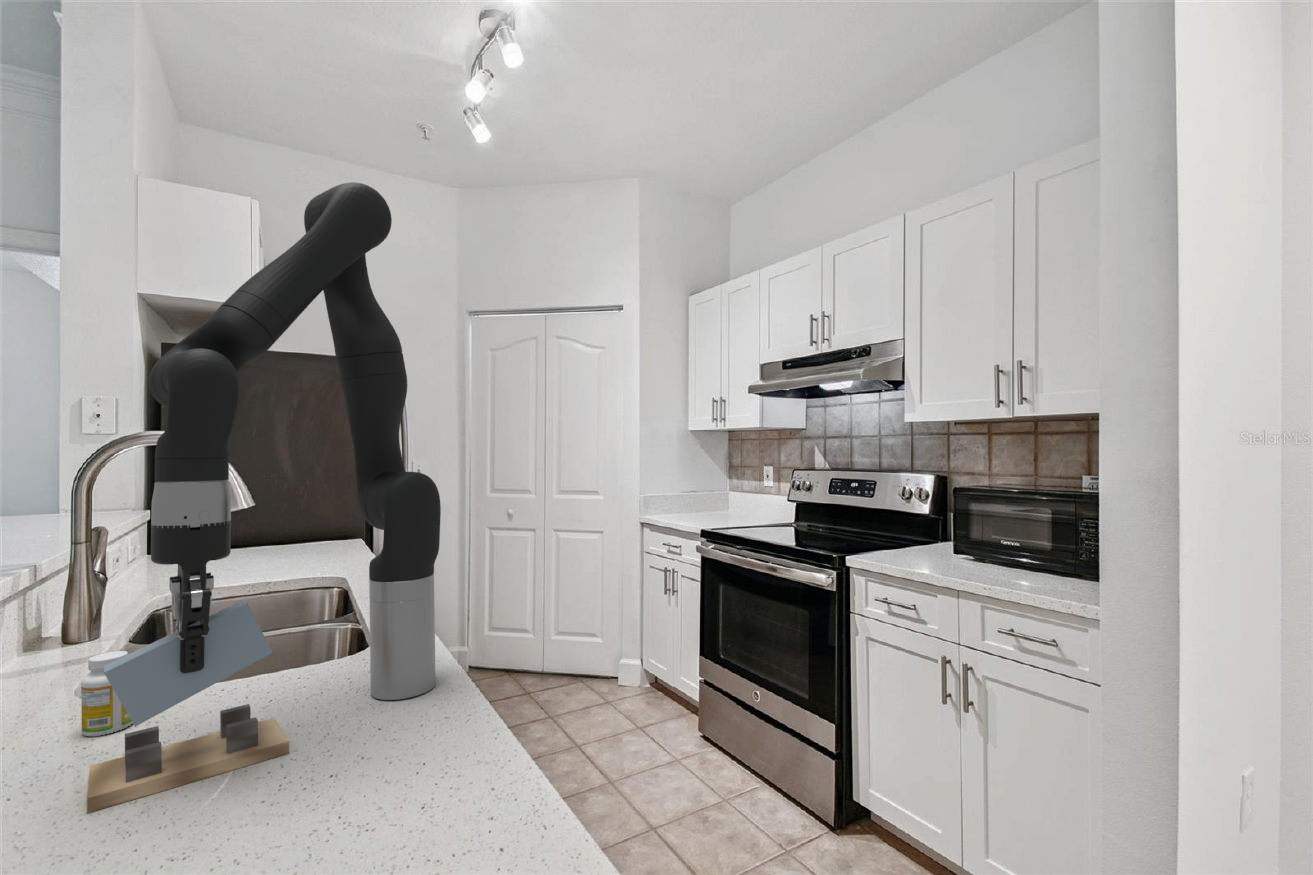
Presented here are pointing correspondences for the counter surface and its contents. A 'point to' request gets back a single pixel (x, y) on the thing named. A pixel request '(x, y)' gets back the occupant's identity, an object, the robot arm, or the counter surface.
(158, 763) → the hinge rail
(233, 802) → the counter surface
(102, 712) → the supplement bottle
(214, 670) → the blue grey rectangular block
